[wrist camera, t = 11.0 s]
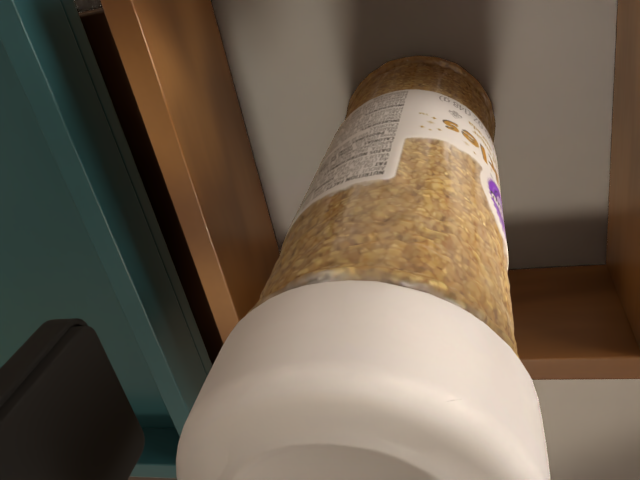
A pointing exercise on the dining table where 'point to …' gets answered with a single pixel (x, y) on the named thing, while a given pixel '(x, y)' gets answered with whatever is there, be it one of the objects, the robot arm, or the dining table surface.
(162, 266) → the tray
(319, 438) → the sprinkles bottle
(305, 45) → the dining table surface
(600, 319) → the wooden frame
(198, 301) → the runners
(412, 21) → the dining table surface
